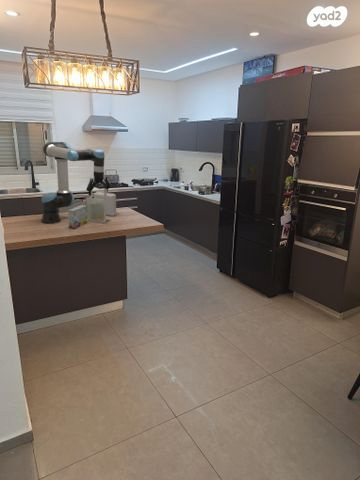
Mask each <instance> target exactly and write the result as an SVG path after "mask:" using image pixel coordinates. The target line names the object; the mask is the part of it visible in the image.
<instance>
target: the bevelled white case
mask: <svg viewBox="0 0 360 480" xmlns="http://www.w3.org/2000/svg"><path fill="white" fill-rule="evenodd" d="M93 198H97V199H105V216H107V217H115V216H117V194H116V193H107V197H105V196H104V192H101V191H100V192H99V191H97V192H94V193H93Z"/></svg>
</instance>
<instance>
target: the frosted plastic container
mask: <svg viewBox="0 0 360 480" xmlns="http://www.w3.org/2000/svg"><path fill="white" fill-rule="evenodd" d="M85 206H86V207H87V222H94V223H101V224H105V223H108V222H111V219H108V218H106V216H107V215H105V199H97V198H94V197H92V200H91V199H89V196H88V197H85Z"/></svg>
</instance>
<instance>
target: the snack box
mask: <svg viewBox="0 0 360 480" xmlns="http://www.w3.org/2000/svg"><path fill="white" fill-rule="evenodd" d="M67 214H68V215H67V216H68V228H69V229H72V230H75V229H77V228H79V227H81V226H83V225H85V224H87V223H88V221H87V207H86V204H83V205H78V206H75V207H73V208H70V209H68V210H67Z"/></svg>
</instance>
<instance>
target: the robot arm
mask: <svg viewBox="0 0 360 480" xmlns="http://www.w3.org/2000/svg"><path fill="white" fill-rule="evenodd" d="M42 152H43V154H44V155H45V156H47V157H48V158H54V161H56V174H57V190H56V193H55V192H50V193H49V192H48V193H46V194H45V193H44V194H42V196H41V205H42V206H41V207H42V216H41V217H42V218H41V223H42V224H46V225H47V224H49V225H50V224H57V223H60V222H61V221H62V219H61V218H62V217H60V214H59V209H61V208H67V207H71V206H73V205H74V202H75V195H74V194H73V193H72V190H70V186H69V185H70V184H69V183H70V182H69V166H68V164H69V163H68V162H69V161H70V162H84V161H91V162H93V178H92V177H90V178H89V182H88V183H87V186H86V189H85V190H86V191H87V192H88V197H89V199H91V200H92V198H93V190H94V188H95V186H96V185H98V184H102V185H103V187H104V189H103V193H104V196H105V197H107V193H108V192H109V189H110V188H111V186H110V183H109V181H108V176H106V175H105V172H104V171H105V150H103V149H99V148H98V149H94V150H92V149H91V148H85V149H78V150H76V149H72V146H71V145H70V144H69V143H68V142H64V141H51V142H50V141H49V142H47V143H45V144H44V145H43V146H42Z"/></svg>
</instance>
